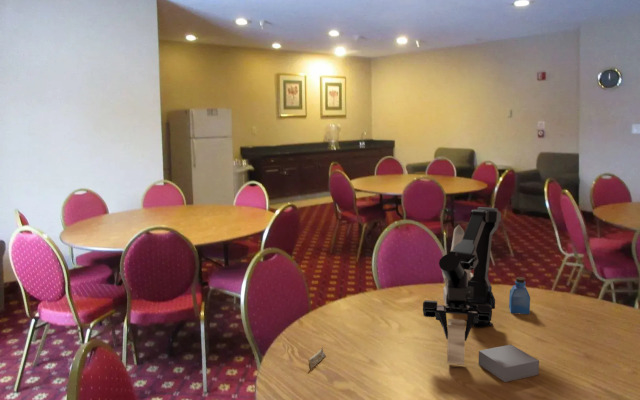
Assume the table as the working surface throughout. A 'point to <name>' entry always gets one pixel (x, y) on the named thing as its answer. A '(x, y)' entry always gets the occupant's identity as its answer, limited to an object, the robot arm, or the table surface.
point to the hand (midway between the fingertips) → (456, 339)
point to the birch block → (456, 341)
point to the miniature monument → (456, 239)
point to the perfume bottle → (519, 297)
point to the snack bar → (316, 358)
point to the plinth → (508, 363)
